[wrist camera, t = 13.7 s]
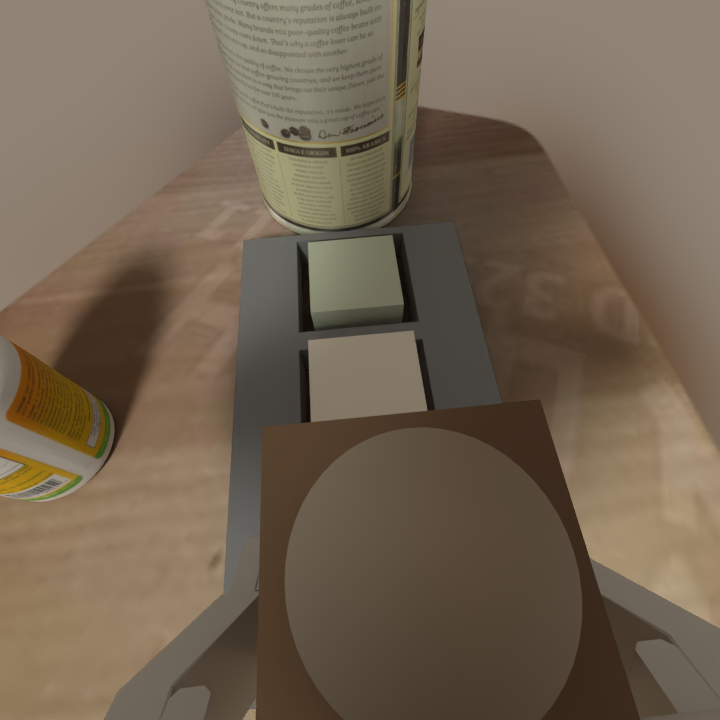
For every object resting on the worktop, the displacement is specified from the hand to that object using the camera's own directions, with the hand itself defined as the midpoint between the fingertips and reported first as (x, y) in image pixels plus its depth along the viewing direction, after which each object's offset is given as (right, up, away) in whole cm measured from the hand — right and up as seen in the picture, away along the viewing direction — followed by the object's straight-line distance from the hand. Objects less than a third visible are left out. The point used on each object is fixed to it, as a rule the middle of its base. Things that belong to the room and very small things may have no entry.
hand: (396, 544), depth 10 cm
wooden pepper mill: (0, -3, +5) cm, 6 cm away
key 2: (-1, +8, +13) cm, 16 cm away
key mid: (-1, +3, +9) cm, 9 cm away
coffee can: (-2, +16, +19) cm, 25 cm away
